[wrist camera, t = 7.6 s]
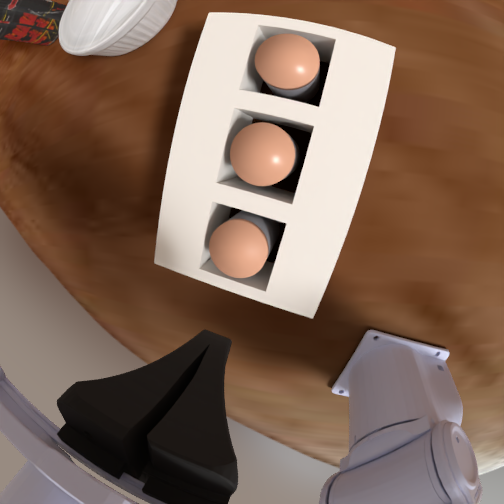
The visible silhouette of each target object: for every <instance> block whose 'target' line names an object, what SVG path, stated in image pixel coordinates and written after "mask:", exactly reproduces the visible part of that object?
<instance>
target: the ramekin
mask: <svg viewBox="0 0 504 504" xmlns="http://www.w3.org/2000/svg"><path fill="white" fill-rule="evenodd" d="M176 2H177V0H70V1H69V3H68V5H67V7H66V9H65V11H64V13H63V15H62V18H61V20H60V24H59V41H60V44H61V46H62V48H63V49H64V50H65V51H66V52H68V53H70V54H73V55H77V56H87V55H102V56H116V55H122V54H126V53H128V52H131V51H133V50H135V49H137V48H138V47H140V46H142V45H144V44H145V43H146V42H148V41H149V40H150V39H152V38H153V37H154V36H155V35H156V34H157V33H158V32H159V31H160V30H161V29H162V28H163V27H164V26H165V24H166V23H167V22H168V20H169V19H170V17H171V15H172V13H173V11H174V9H175V6H176Z"/></svg>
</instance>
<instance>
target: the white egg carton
mask: <svg viewBox="0 0 504 504" xmlns="http://www.w3.org/2000/svg"><path fill="white" fill-rule="evenodd" d="M278 34H295V35H299V36H302V37H304V38H306V39H307V40H309V41H310V42H311V43H312V44H313V45H314V46H315V48H316V49H317V51H318V54H319V59H320V61H322V62H326V63H330V66H329V70H328V74H327V78H326V82H325V86H324V90H323V94H322V98H321V102H320V105H319V107H317V106H313V105H310V104H306V103H302V102H298V101H294V100H290V99H286V98H281V97H277V96H272V95H267V94H262V93H260V91H261V87H262V84H263V79H262V77H261V76H260V75H259V73H258V71H257V69H256V66H255V54H256V52H257V50H258V48H259V46H260V45H261V44H262V43H263V42H264V41H265V40H267V39H268V38H270V37H272V36H275V35H278ZM394 55H395V47H393V46H390V45H388V44H385V43H382V42H380V41H377V40H374V39H371V38H368V37H365V36H362V35H359V34H355V33H352V32H349V31H345V30H341V29H338V28H334V27H330V26H326V25H321V24H317V23H312V22H307V21H302V20H296V19H290V18H283V17H276V16H267V15H257V14H244V13H209V15H208V17H207V20H206V23H205V26H204V28H203V31H202V34H201V37H200V40H199V43H198V46H197V49H196V52H195V56H194V59H193V62H192V65H191V69H190V72H189V76H188V79H187V83H186V87H185V90H184V94H183V98H182V102H181V106H180V110H179V114H178V118H177V122H176V127H175V131H174V136H173V141H172V146H171V150H170V156H169V161H168V166H167V172H166V177H165V183H164V189H163V196H162V202H161V209H160V217H159V224H158V232H157V241H156V250H155V260H154V263H155V264H158V265H160V266H163V267H165V268H168V269H170V270H173V271H176V272H178V273H181V274H184V275H186V276H189V277H192V278H194V279H197V280H200V281H202V282H205V283H208V284H211V285H213V286H216V287H219V288H222V289H225V290H227V291H230V292H233V293H236V294H239V295H242V296H245V297H248V298H251V299H253V300H256V301H259V302H262V303H265V304H268V305H271V306H274V307H277V308H280V309H284V310H287V311H290V312H293V313H296V314H299V315H302V316H306V317H309V318H312V319H313V317H314V315H315V313H316V310H317V308H318V306H319V303H320V301H321V299H322V296H323V294H324V291H325V289H326V286H327V284H328V282H329V279H330V277H331V274H332V272H333V269H334V266H335V264H336V261H337V259H338V256H339V253H340V251H341V248H342V245H343V243H344V240H345V237H346V234H347V231H348V229H349V226H350V223H351V220H352V217H353V214H354V211H355V208H356V205H357V202H358V199H359V196H360V193H361V190H362V186H363V183H364V180H365V177H366V173H367V170H368V167H369V163H370V160H371V156H372V153H373V149H374V145H375V141H376V138H377V134H378V130H379V126H380V122H381V118H382V114H383V109H384V105H385V101H386V96H387V91H388V87H389V82H390V77H391V71H392V66H393V60H394ZM253 119H258V120H263V121H267V122H271V123H276V124H280V125H284V126H288V127H292V128H295V129H299V130H303V131H306V132H310V133H312V136H311V139H310V143H309V147H308V150H307V154H306V158H305V161H304V165H303V168H302V172H301V175H300V179H299V183H298V186H297V190H296V193H293V192H289V191H286V190H283V189H279V188H276V187H272V186H256V185H252V184H249V183H247V182H245V181H244V180H242V179H241V178H240V177H239V176H238V175H237V173H236V172H235V171H234V169H233V167H232V164H231V160H230V148H231V144H232V142H233V140H234V138H235V136H236V135H237V134H238V133H239V132H240V131H241V130H242V129H243V128H245V127H246V126H248V125H251V124H252V121H253ZM231 207H233V208H237V209H240V210H242V211H240V212H239V213H237V214H236V215H234V216H233V217H232V218H230V219H229V215H230V211H231ZM278 221H280V222H283V223H286V227H285V231H284V234H283V237H282V241H281V244H280V247H279V251H278V254H277V257H276V261H275V264H274V263H271V262H268V261H266V260H267V258H268V256H269V254H270V252H271V250H272V248H273V246H274V244H275V243H276V241H277V239H278V236H279V231H280V228H279V223H278Z"/></svg>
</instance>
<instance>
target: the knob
mask: <svg viewBox="0 0 504 504" xmlns="http://www.w3.org/2000/svg"><path fill="white" fill-rule="evenodd" d="M255 66H256V69H257V71H258V73H259V75H260V76H261V77H262V79H263V80H264V81H265V82H266V84H267V85H268V87H269V88H270V89H271V91H272V92H273V93H274V95H275V96H277V97H281V98H286V99H290V100H294V101H298V102H302V103H305V102H307V101H309V100H311V99H312V98H313V97H314V96H315V95H316V94H317V92H318V90H319V86H320V59H319V54H318V51H317V49H316V48H315V46H314V45H313V44H312V43H311V42H310V41H309V40H307V39H306V38H304V37H302V36H299V35H295V34H278V35H275V36H272V37H270V38H268V39H267V40H265V41H264V42H263V43H262V44H261V45H260V46H259V48H258V50H257V52H256V54H255Z"/></svg>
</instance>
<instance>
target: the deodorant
mask: <svg viewBox="0 0 504 504" xmlns="http://www.w3.org/2000/svg"><path fill="white" fill-rule="evenodd" d="M66 7H67V6H66V5H63V4H60V3H57V2H53V1H50V0H0V39H3V40H13V41H21V42H28V43H35V44H41V45H47V46H48V45H50V44H52V43H53V42H54V41H55V40H56V39H57V38H58V37H59V24H60V20H61V18H62V15H63V13H64V11H65V9H66Z"/></svg>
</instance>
